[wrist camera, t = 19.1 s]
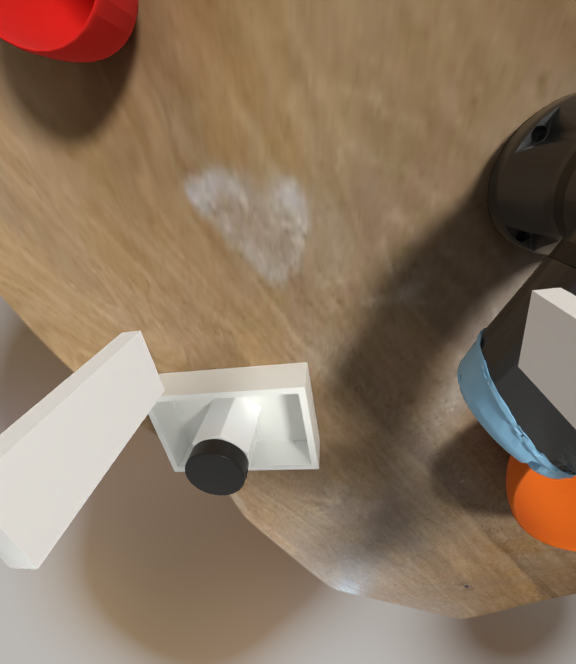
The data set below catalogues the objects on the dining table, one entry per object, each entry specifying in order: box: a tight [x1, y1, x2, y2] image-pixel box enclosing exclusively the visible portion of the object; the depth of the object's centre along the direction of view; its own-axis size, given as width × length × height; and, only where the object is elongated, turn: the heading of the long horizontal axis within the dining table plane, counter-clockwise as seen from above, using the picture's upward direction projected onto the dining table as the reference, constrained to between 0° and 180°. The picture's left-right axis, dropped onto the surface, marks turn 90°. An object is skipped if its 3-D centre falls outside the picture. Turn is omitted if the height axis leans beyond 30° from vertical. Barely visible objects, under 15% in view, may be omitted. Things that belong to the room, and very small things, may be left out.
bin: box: [148, 362, 320, 472], centre depth 51 cm, size 24×16×6 cm, turn 99°
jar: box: [185, 397, 261, 495], centre depth 48 cm, size 9×8×12 cm
